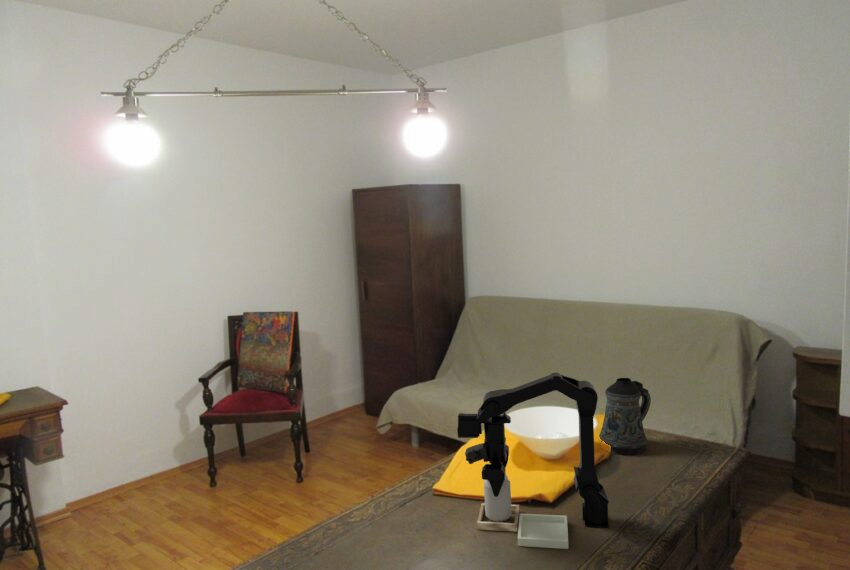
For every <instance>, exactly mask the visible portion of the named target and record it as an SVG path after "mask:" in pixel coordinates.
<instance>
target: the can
mask: <svg viewBox="0 0 850 570" xmlns="http://www.w3.org/2000/svg"><path fill="white" fill-rule="evenodd" d="M483 490H484V491H483V492H484V503H485V511H484V515H485V516H486V518H488V519H489V520H490V521H491V522H502V523H503V522H505V521H507V520H508V519H509V518H511V517H512V513H513V512H512V510H511V505H512V494H511V493H512V492H511V481H510V479H509V477H508V475H507V474H506V476H505V480H504V482H503V485H502V487H501V490H500V493H499V495H498V497H495V496H494V494H493V491H492V488H491V485H490V482H489V481H488V480H483Z"/></svg>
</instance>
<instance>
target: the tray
mask: <svg viewBox="0 0 850 570" xmlns="http://www.w3.org/2000/svg"><path fill="white" fill-rule="evenodd" d="M568 531H569V530H568V515H559V514H558V515H557V514H540V513H538V514H537V513H520V512H519V521H518V531H517V547H529V548H531V547H532V548H545V549H548V548H549V549H563V550H564V549H565V550H569V532H568Z"/></svg>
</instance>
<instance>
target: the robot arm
mask: <svg viewBox="0 0 850 570" xmlns="http://www.w3.org/2000/svg"><path fill="white" fill-rule="evenodd" d="M554 391H555V392H559V393H561V394H563V395H564V396H566V397H567V398H568V399H569V398H570V399H571V400H573V401H574V402H575V405H576V409H577V414H578V439H579V464H578V466H573V471H574V477H573V483H574V486H575V490H576V491H578V493H579V496H580V497H581V498H582V499H583V502H582V503H581V517H582V521H583V522H584V527H591V528H593V527H594V528H610V522H609V503H610V501H609V498H608V495H607V492H606V489H605V487H604V486H603V485H602V484H601V483H600V482H599V478H598V474H597V470H596V465H595V464H596V462H595V434H594V433H595V431H594V427H595V426H594V423H595V422H594V418H595V414H596V410H597V405H598V400H599V399H598V397H599V396H598V392H597V391H596V389H595V386H594V384H592V383H591V382H590V381H588V380H578V379H576V378H573V377H570V376H567V375H564V374H560V373H559V372H553V373H552V372H551V374H548V375H546V376H542V377H540V378H537V379H535V380H532V381H530V382H527V383H524V384H522V385H518V386H515V387H512V388H509V389H508V388H507V389H503V388H500V389H495V390H490V391H488V392H486V393H485V394H484V397H483V402H482V404H481V405H480V407H479V408H478V409H477V413H464V412H462V413H461V412H459V413H458V414H457V428H456V429H457V432H456V433H457V438H458V439H478V438H479V437H480V435H482V434H483V433H484V439H483V440H484V441H483V442H482V443H478V444H475V445H472V446H469V447H467V448H466V449H465V452H464V455H465V460H466V461H467V462H468V464H469V465H472V464H474V463H476V462H477V463H478V462H479V461H483V462H484V463H486V464H485V465H483V466H482V468H481V479H482V480H483V481H485V480H488V481H489V482H490V485H491V488H492V491H493V494H494V496H495V497H498V495H499V493H500V490H501V487H502V485H503V482H504V480H505V476H506V475H507V474H506V472H507V471H506V469H507V465H508V461H509V456H510V446H509V445H507V444H506V442H507V437H506V431H505V430H506V429H505V424H510V423H511V421H512V418H511V416H509V414H508V413H507V412H508V411H509V410H511V409H512V408H513V407H515V406H516V405H518V404H521V403H524V402H526V401H529V400H532V399H534V398H535V399H536V398H538V397H540V396H543V395H546V394H549V393H551V392H554ZM483 429H484V430H483ZM483 431H484V432H483Z"/></svg>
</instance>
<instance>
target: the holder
mask: <svg viewBox="0 0 850 570" xmlns="http://www.w3.org/2000/svg"><path fill="white" fill-rule="evenodd" d="M511 510H512V513H515V516H514V522H503V521H502V522H495V521H483V518H484V515H485V502H483V503H481V505H480V509H479V513H478V517H477V521H476V528H477V529H476V530H480V531H481V530H482V531H496V532H497V531H501V532H515V533H518V528H519V517H520V504H511Z"/></svg>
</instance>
